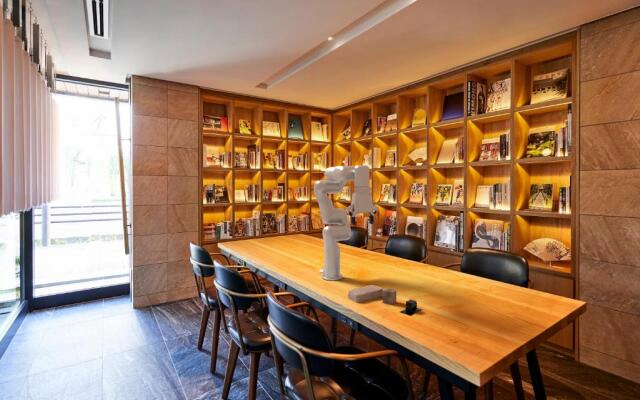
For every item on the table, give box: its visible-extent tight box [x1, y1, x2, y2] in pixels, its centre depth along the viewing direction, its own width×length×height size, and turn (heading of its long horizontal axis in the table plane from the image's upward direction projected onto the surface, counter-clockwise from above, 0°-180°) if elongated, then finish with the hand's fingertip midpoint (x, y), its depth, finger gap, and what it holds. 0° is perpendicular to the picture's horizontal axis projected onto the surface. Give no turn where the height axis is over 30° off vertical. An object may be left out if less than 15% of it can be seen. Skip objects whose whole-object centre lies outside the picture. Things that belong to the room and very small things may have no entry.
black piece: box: [399, 299, 424, 317], centre depth 145 cm, size 13×8×5 cm, turn 133°
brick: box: [347, 284, 384, 303], centre depth 162 cm, size 16×8×5 cm, turn 120°
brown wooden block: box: [382, 287, 397, 306], centre depth 155 cm, size 5×5×6 cm
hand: (362, 224), depth 164 cm, fingers open, 9 cm apart
